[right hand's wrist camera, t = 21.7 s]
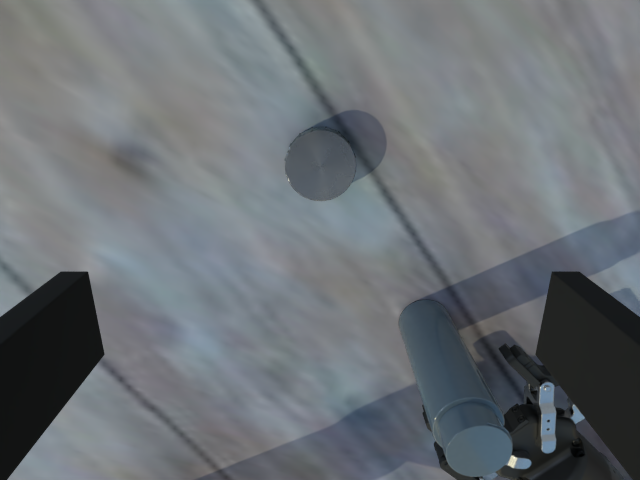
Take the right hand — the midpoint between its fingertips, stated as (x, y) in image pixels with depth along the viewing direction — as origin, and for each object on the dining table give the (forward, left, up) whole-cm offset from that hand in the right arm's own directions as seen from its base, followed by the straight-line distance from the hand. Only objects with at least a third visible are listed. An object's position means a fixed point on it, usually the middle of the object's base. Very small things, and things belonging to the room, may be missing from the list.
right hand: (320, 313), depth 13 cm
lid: (0, 0, -24) cm, 24 cm away
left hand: (+10, +19, -20) cm, 30 cm away
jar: (+9, +16, -26) cm, 32 cm away
